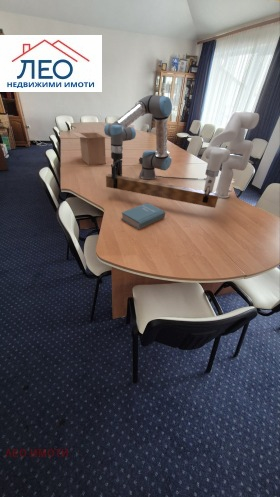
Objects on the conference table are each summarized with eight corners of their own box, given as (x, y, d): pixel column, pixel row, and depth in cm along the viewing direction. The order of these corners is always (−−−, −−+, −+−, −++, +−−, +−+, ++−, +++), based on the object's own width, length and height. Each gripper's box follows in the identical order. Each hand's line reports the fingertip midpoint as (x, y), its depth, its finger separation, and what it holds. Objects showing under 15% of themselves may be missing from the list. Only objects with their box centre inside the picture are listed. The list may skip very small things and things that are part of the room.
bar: (106, 186, 157) (105, 175, 152) (109, 184, 161) (108, 173, 156) (215, 207, 141) (218, 196, 136) (215, 204, 145) (218, 193, 140)
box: (116, 165, 229) (116, 136, 213) (83, 168, 214) (80, 137, 198) (102, 154, 259) (101, 128, 243) (71, 156, 244) (68, 129, 228)
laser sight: (158, 166, 235) (159, 156, 229) (137, 164, 238) (138, 154, 232) (159, 164, 243) (160, 154, 237) (139, 161, 245) (140, 152, 239)
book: (146, 209, 152) (147, 202, 149) (164, 218, 143) (165, 211, 140) (121, 219, 138) (121, 212, 135) (139, 230, 130) (139, 222, 127)
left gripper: (116, 156, 136) (116, 192, 149) (127, 150, 150) (126, 183, 163) (105, 154, 137) (106, 190, 151) (117, 148, 151) (117, 181, 165)
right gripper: (217, 178, 125) (210, 207, 136) (219, 169, 138) (211, 196, 149) (204, 175, 126) (197, 204, 137) (207, 167, 139) (200, 194, 150)
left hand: (117, 186), depth 157 cm, fingers closed on bar, 5 cm apart
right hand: (205, 200), depth 143 cm, fingers closed on bar, 5 cm apart
